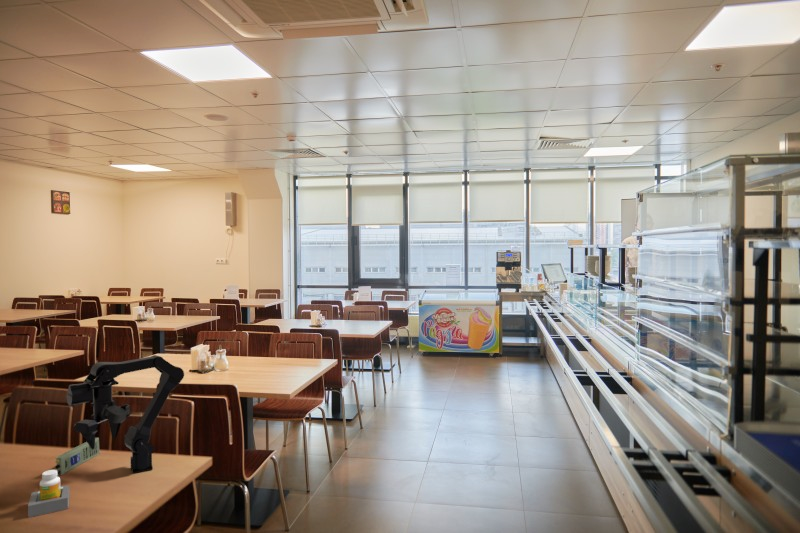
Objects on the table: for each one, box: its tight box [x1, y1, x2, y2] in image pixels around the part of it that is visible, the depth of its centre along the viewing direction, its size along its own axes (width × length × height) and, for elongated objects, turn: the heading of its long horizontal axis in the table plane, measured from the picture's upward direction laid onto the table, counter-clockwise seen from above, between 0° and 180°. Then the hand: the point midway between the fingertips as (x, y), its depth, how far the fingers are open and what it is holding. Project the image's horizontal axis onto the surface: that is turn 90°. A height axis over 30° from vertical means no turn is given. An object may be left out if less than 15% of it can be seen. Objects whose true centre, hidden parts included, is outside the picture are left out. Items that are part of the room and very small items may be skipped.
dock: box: [27, 484, 71, 518], centre depth 161 cm, size 10×10×4 cm
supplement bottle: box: [39, 469, 61, 501], centre depth 161 cm, size 5×5×10 cm
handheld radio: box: [54, 437, 101, 476], centre depth 191 cm, size 7×3×25 cm
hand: (103, 443), depth 178 cm, fingers open, 9 cm apart
